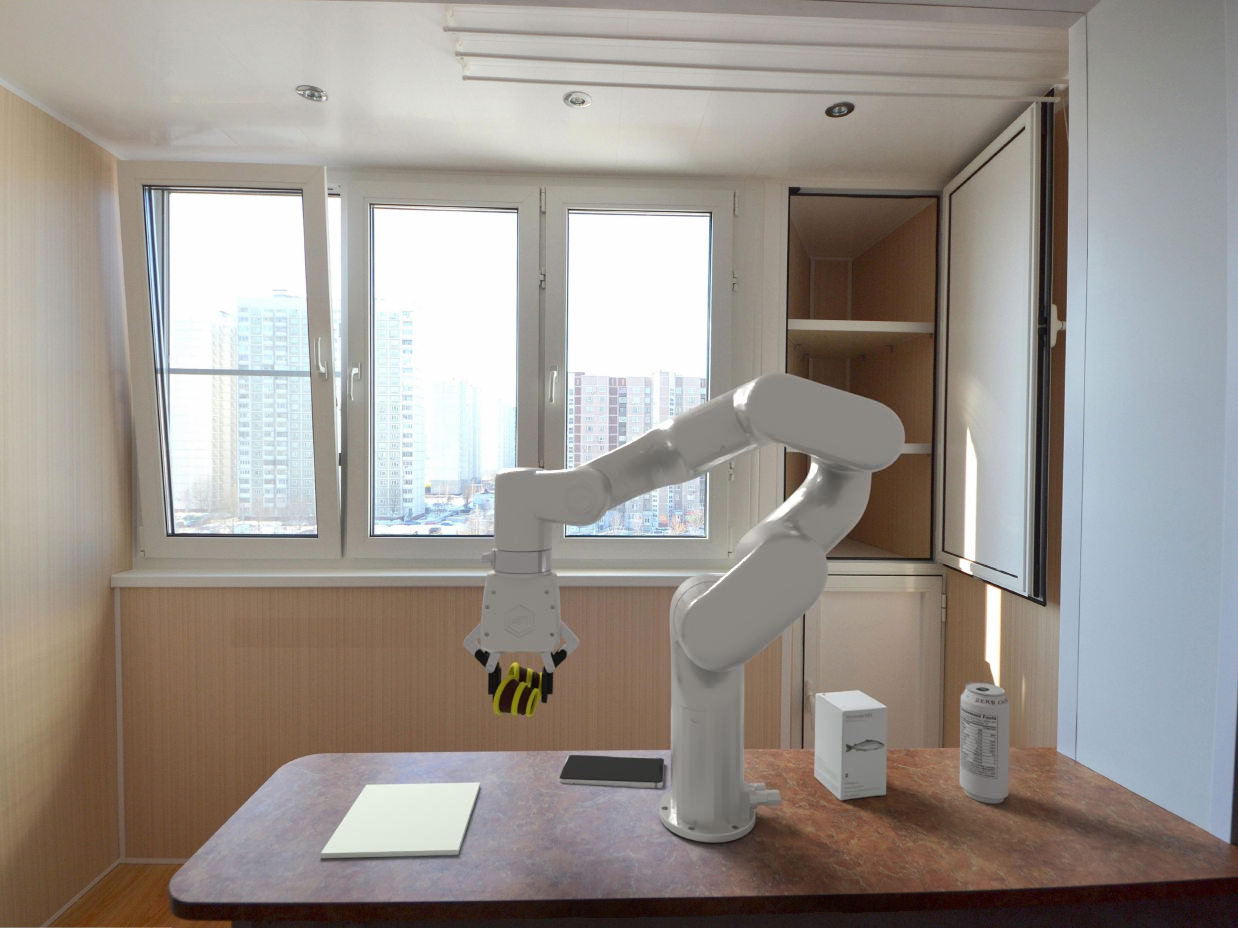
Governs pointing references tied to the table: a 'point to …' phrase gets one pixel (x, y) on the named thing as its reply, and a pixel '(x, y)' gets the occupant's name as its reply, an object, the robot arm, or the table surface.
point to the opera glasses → (518, 692)
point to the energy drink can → (984, 742)
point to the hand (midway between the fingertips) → (520, 698)
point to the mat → (405, 821)
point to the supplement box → (850, 744)
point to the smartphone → (613, 771)
